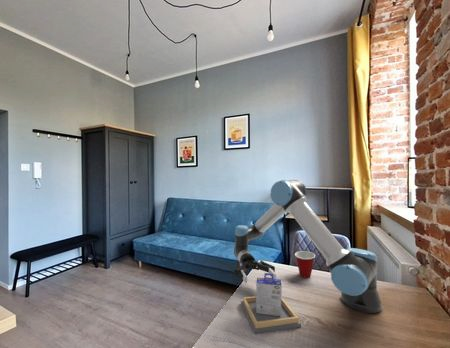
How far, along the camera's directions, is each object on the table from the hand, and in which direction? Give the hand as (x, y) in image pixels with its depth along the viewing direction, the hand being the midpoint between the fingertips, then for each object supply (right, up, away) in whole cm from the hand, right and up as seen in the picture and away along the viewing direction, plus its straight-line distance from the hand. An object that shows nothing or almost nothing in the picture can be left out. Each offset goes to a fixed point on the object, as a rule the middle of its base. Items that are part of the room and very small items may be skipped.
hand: (260, 278), depth 97 cm
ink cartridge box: (+2, -9, -8) cm, 13 cm away
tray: (+2, -10, -8) cm, 13 cm away
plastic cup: (+29, -11, +25) cm, 40 cm away
